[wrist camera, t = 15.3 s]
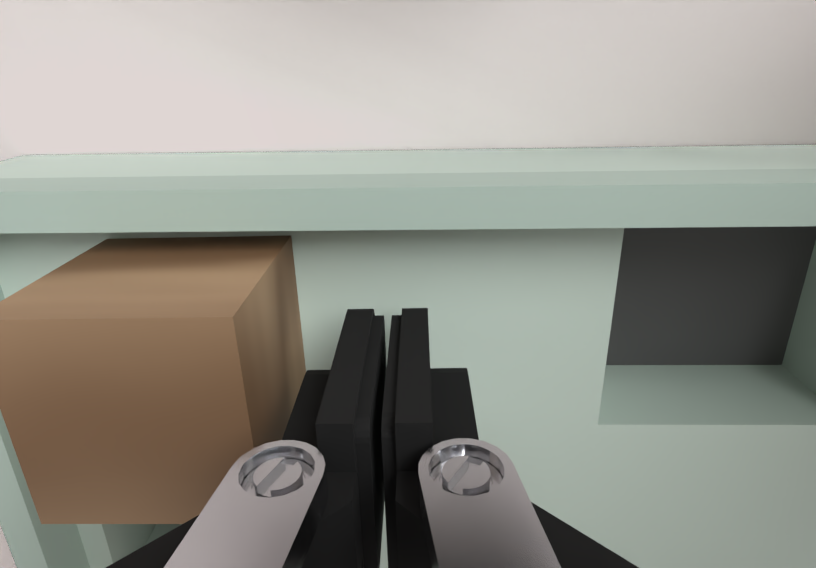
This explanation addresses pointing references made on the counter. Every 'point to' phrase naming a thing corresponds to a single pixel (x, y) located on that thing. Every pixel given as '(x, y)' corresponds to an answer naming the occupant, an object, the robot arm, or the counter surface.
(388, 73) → the counter surface
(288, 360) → the walnut block
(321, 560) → the robot arm
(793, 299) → the tray
